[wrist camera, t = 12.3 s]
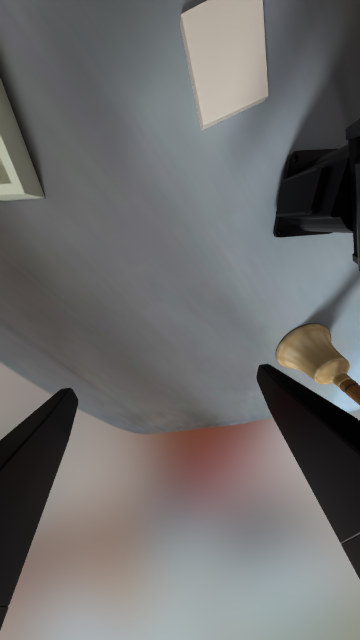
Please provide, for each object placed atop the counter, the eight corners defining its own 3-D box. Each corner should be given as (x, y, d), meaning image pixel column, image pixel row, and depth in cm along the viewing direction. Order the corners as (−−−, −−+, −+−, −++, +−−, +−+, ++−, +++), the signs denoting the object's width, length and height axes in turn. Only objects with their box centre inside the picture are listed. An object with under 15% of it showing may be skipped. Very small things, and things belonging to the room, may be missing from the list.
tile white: (251, -4, 11) (260, -29, 10) (259, 105, 13) (268, 95, 12) (179, 33, 11) (181, 14, 10) (200, 133, 14) (203, 125, 13)
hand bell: (338, 321, 24) (573, 448, 11) (316, 364, 28) (464, 496, 15) (284, 325, 24) (457, 466, 10) (269, 368, 28) (377, 511, 14)
